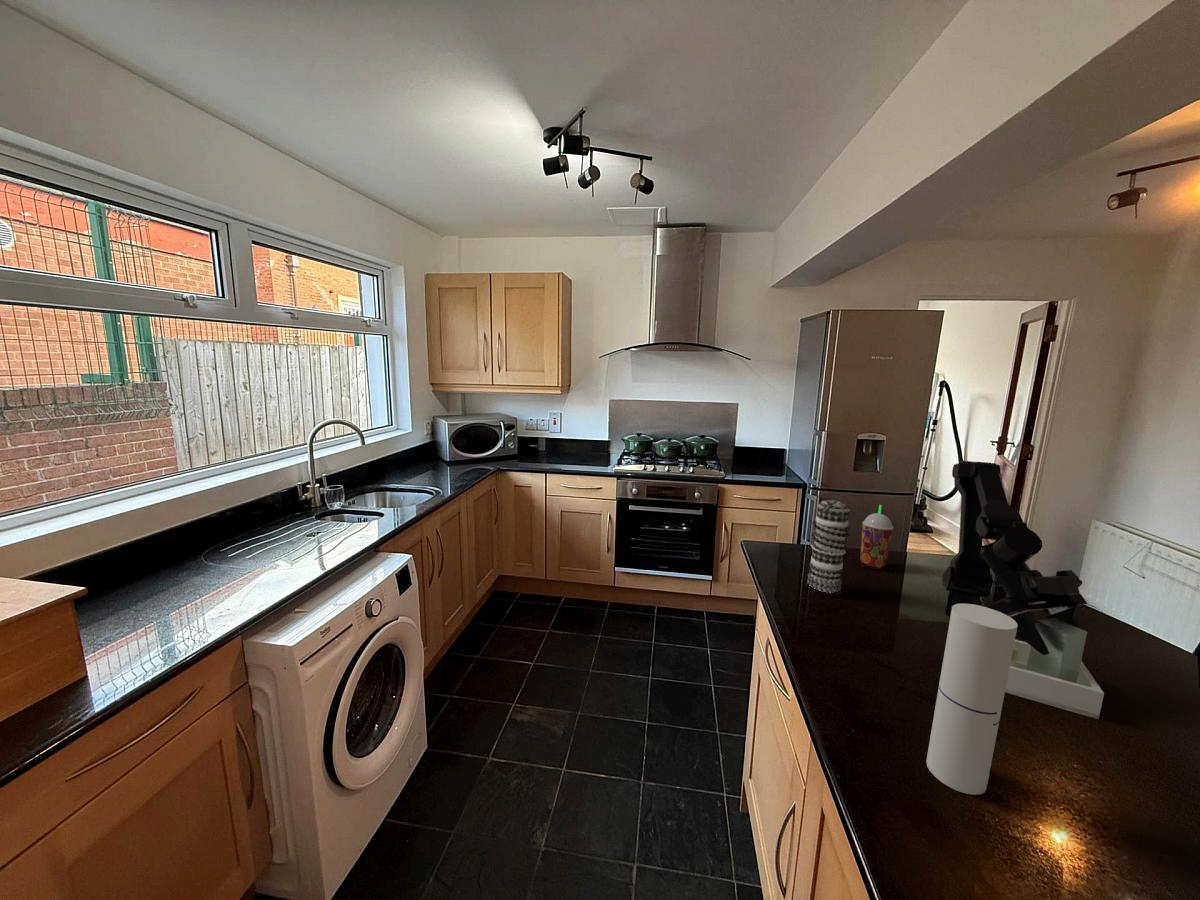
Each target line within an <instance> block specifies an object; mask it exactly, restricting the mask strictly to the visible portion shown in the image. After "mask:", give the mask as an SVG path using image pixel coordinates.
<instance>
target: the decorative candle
mask: <svg viewBox="0 0 1200 900" xmlns="http://www.w3.org/2000/svg"><path fill="white" fill-rule="evenodd" d="M816 507H817V512H816V513H817V514H816V516H815V519H814V520H813V521H812V525H813V527H812V530H811V531H812V534H811V538H812V540H811V549H812V555H811V557H810V558H811V559H810V562H809V563H808V564H809V568H808V572H809V573H808V574H807V580H806V582H807V584H809V586H811V587H812V588H814V589H816V590H819V591H821V592H826V593H828V592H829V593H834V592H838V591H840V592H841V589H842V584H843V580H842V578H843V576H844V575H843V572H844V567H843V566H844V562H843V561H844V560H843V559H844V555H845V554H846V552H847V551H846V549H847V548H848V547H847V546H846V544H848V540H847V539H846V538H848V537H849V536H850V534H849V533H848V532H850V530H851V529H850V527H849V519H848V518H849V513H850V511H851V509H850V508H849V507H848V506H847V504H846V503H845V502H844V501H840V500H836V499H823V500H822V501H820V502H819V503H817V504H816Z"/></svg>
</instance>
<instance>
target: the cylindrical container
mask: <svg viewBox="0 0 1200 900" xmlns="http://www.w3.org/2000/svg"><path fill="white" fill-rule="evenodd" d="M948 623H949V624H948V631H947V635H946V642H945V648H944V655H943V659H942V664H941V665H942V666H941V672H940V677H939V684H938V690H937V694H936V701H935V708H934V713H933V718H932V719H933V720H932V726H931V732H930V738H929V744H928V750H927V755H926V766H927V768H928V770H929V772H930V773H931V774H932V775H933V776H934V777H935V778H936V779H937V780H938V781H940V782H941V783H942V784H944V785H945V786H948V787H949V788H951V789H952V790H955V791H957V792H960V793H963V794H967V795H971V796H972V795H973V796H977V795H982V794H984V793H985V792H986V791H987V786H988V782H989V776H990V772H991V767H992V761H993V755H994V751H995V746H996V741H997V737H998V736H997V735H998V731H999V725H1000V720H1001V716H1002V715H1001V714H1002V710H1003V704H1004V698H1005V693H1006V692H1005V689H1006V684H1007V679H1008V673H1009V668H1010V663H1011V658H1012V652H1013V647H1014V642H1015V640H1016V636H1017V635H1016V631H1017V626H1018V625H1017V623H1016V621H1015V620H1013V619H1012V618H1010V617H1009V616H1007V615H1005V614H1003V613H1001V612H998V611H996V610H993V609H990V608H986V607H985V606H983V605H982V606H979V605H973V604H955V605H953V606H952V611H951V616H950V617H949V622H948Z"/></svg>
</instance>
